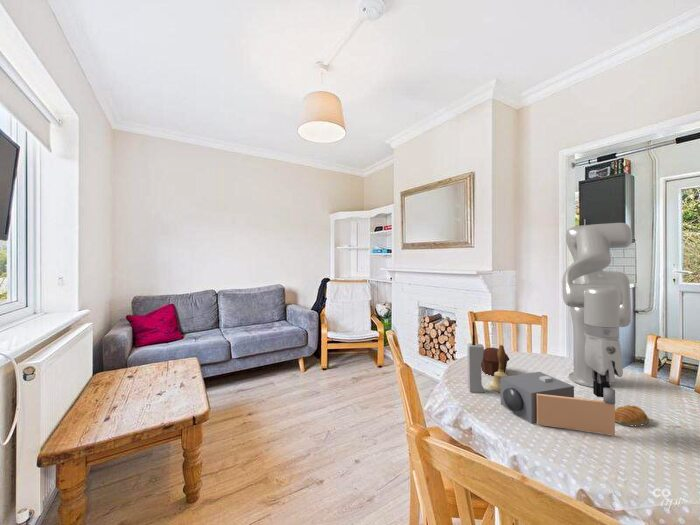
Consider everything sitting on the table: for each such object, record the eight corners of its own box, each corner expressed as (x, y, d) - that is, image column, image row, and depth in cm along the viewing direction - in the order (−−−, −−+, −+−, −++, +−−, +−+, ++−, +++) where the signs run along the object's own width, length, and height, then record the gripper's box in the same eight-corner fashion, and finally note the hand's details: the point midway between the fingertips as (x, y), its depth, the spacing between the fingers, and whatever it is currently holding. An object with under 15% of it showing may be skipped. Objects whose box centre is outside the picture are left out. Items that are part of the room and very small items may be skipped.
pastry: (633, 431, 82) (633, 418, 82) (604, 419, 88) (604, 406, 88) (651, 423, 85) (651, 410, 85) (622, 412, 92) (622, 400, 92)
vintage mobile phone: (484, 393, 106) (483, 323, 105) (469, 392, 107) (468, 323, 106) (482, 388, 109) (481, 321, 109) (467, 387, 110) (466, 321, 110)
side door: (612, 431, 81) (612, 388, 80) (617, 436, 78) (617, 392, 78) (536, 421, 86) (535, 380, 86) (538, 425, 84) (538, 383, 84)
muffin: (476, 374, 123) (476, 350, 122) (480, 365, 132) (480, 343, 132) (508, 380, 116) (508, 355, 116) (510, 370, 126) (510, 347, 126)
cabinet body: (539, 397, 102) (539, 369, 101) (574, 415, 90) (573, 383, 90) (496, 405, 97) (496, 375, 97) (527, 424, 86) (526, 391, 85)
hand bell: (510, 384, 113) (509, 342, 112) (516, 394, 104) (516, 349, 104) (486, 382, 115) (486, 341, 114) (491, 392, 107) (490, 348, 106)
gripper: (635, 339, 75) (635, 411, 75) (602, 325, 89) (602, 386, 89) (599, 337, 77) (600, 407, 77) (573, 324, 91) (573, 383, 91)
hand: (601, 395), depth 83 cm, fingers closed
